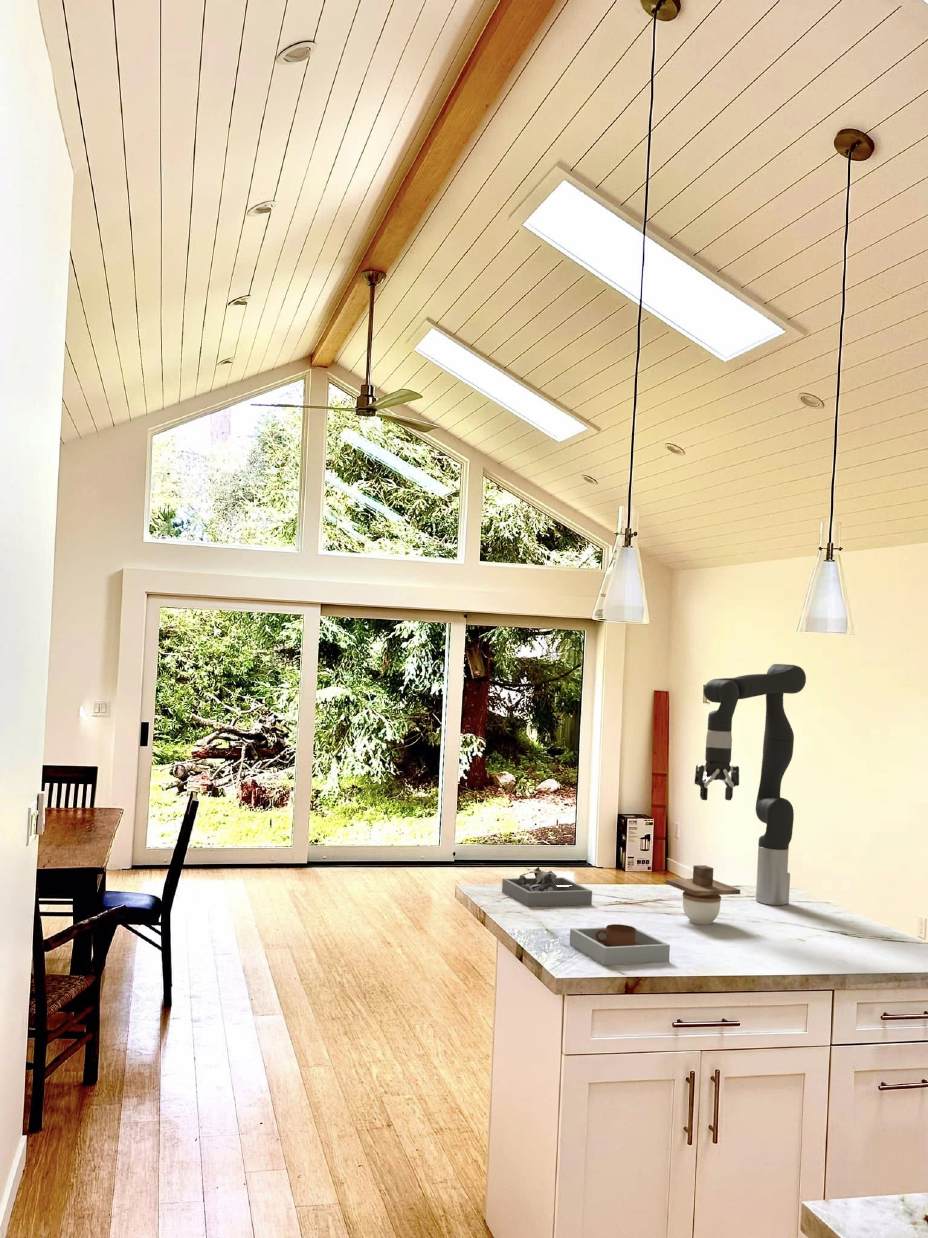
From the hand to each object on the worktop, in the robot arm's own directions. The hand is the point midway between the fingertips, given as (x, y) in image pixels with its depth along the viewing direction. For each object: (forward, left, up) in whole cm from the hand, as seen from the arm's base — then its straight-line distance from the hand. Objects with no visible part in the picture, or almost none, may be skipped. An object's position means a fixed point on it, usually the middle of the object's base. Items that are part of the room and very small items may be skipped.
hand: (716, 800), depth 313 cm
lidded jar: (+11, +11, -33) cm, 37 cm away
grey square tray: (+52, +36, -33) cm, 71 cm away
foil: (+46, -24, -34) cm, 62 cm away
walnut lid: (+11, +11, -24) cm, 28 cm away
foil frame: (+44, -22, -33) cm, 59 cm away
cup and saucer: (+51, +36, -34) cm, 71 cm away
